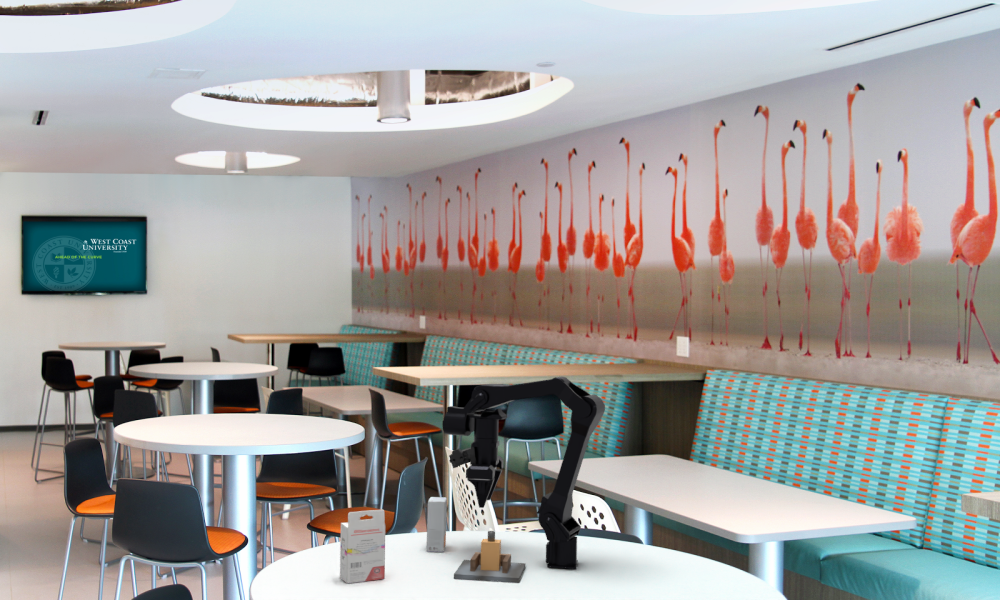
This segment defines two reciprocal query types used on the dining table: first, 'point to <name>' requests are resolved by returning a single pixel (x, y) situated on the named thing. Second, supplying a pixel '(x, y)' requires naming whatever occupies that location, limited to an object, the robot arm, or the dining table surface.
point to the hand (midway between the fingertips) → (484, 503)
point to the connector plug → (491, 553)
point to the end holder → (505, 574)
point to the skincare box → (436, 524)
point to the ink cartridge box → (363, 547)
